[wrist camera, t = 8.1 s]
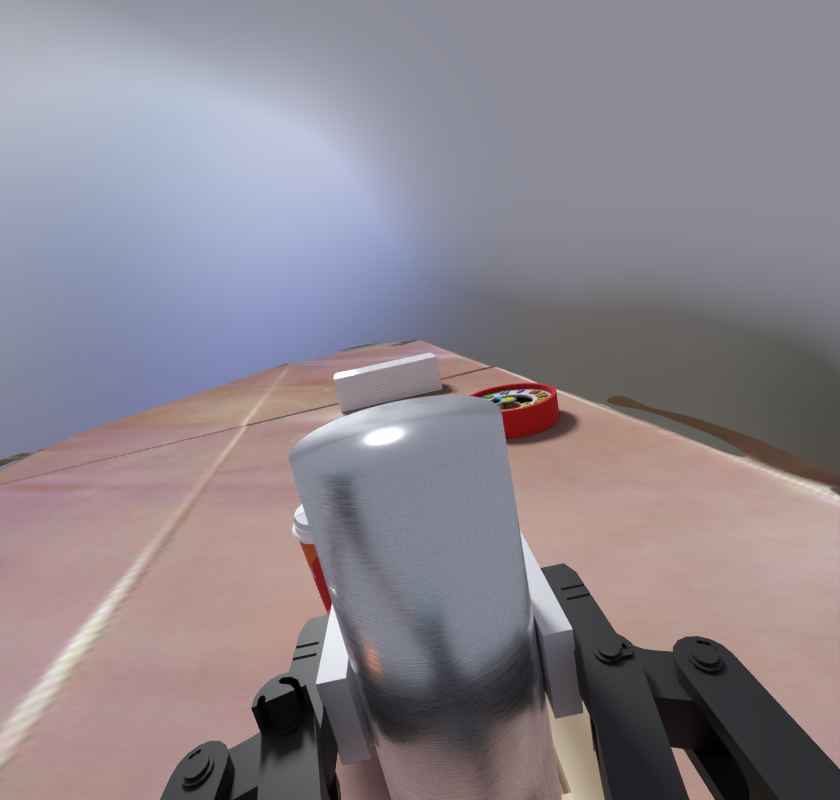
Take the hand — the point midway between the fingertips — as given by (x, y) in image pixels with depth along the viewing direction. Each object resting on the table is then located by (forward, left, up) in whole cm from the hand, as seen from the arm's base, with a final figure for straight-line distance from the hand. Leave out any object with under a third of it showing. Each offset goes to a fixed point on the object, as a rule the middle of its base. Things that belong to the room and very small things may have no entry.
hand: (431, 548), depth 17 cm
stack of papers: (-4, +116, -21) cm, 118 cm away
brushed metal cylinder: (0, -5, -9) cm, 10 cm away
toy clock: (+21, +70, -21) cm, 76 cm away
